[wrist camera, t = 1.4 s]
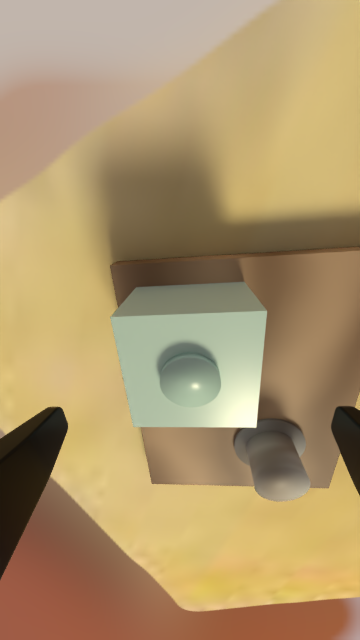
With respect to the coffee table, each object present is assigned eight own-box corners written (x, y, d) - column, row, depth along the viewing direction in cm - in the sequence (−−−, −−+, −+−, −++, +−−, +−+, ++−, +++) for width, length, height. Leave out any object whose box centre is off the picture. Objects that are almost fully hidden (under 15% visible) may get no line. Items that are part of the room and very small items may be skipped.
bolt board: (385, 245, 11) (474, 257, 8) (320, 472, 19) (351, 533, 15) (117, 261, 13) (85, 278, 9) (154, 469, 20) (144, 525, 16)
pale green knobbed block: (244, 281, 11) (270, 315, 7) (240, 372, 14) (258, 435, 10) (136, 287, 12) (106, 321, 8) (149, 373, 14) (131, 434, 10)
